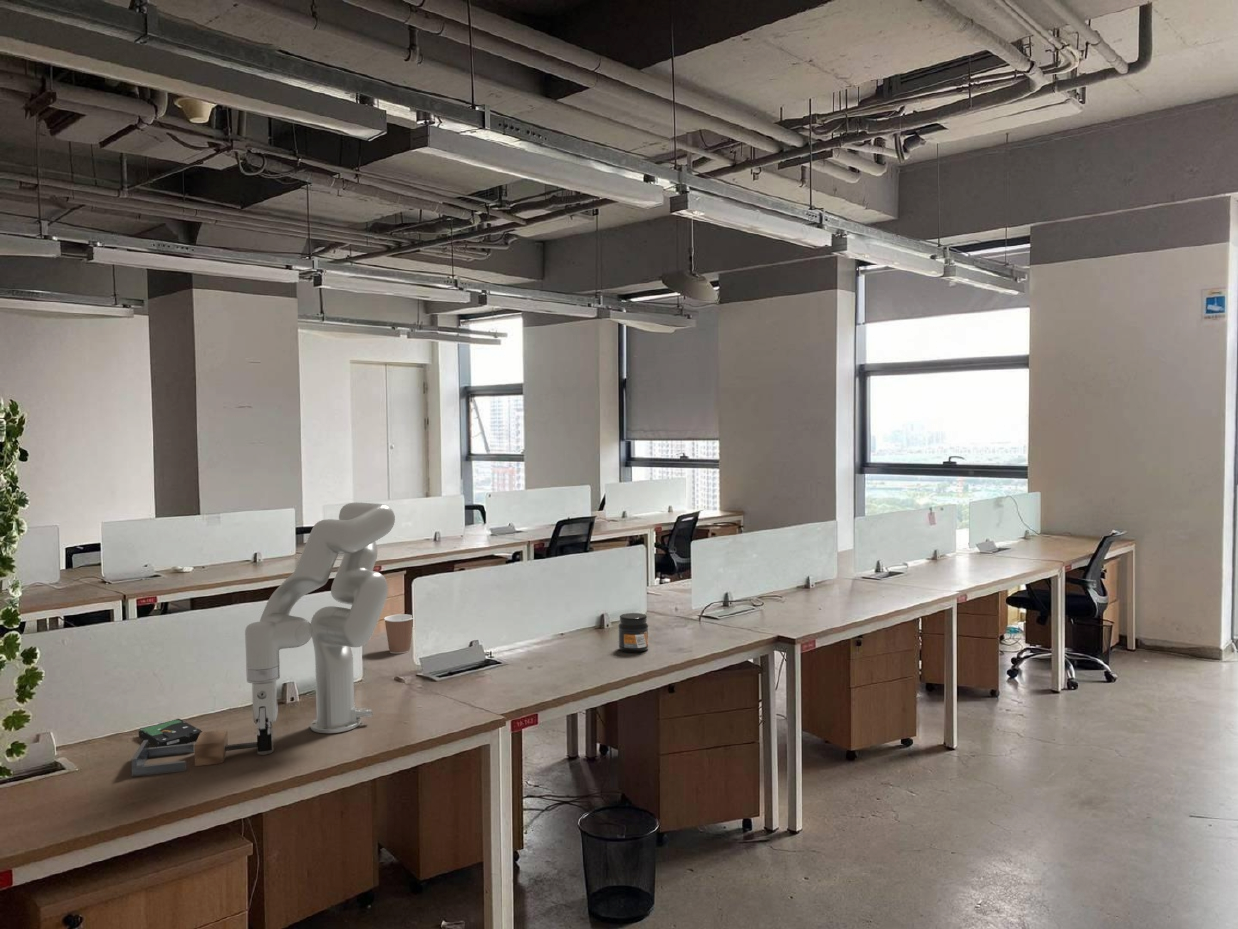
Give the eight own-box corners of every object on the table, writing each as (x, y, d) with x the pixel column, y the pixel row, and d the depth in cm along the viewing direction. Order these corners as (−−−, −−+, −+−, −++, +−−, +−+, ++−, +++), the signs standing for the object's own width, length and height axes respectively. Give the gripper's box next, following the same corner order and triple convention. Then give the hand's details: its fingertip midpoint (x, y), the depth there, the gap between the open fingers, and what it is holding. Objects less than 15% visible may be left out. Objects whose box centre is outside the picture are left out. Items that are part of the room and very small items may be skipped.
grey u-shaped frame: (194, 751, 215) (193, 735, 215) (185, 770, 203) (184, 753, 203) (144, 756, 212) (143, 740, 212) (132, 777, 200) (131, 759, 200)
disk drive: (203, 741, 224) (179, 728, 234) (203, 730, 224) (178, 717, 234) (161, 753, 216) (137, 738, 226) (161, 742, 216) (137, 728, 226)
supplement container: (645, 654, 302) (644, 619, 301) (615, 652, 304) (614, 618, 304) (651, 646, 312) (650, 613, 311) (622, 645, 314) (621, 612, 314)
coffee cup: (406, 646, 317) (406, 613, 316) (420, 651, 309) (419, 617, 308) (379, 651, 310) (379, 617, 310) (392, 656, 302) (391, 622, 302)
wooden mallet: (275, 744, 219) (274, 721, 219) (271, 757, 211) (271, 733, 210) (201, 752, 214) (200, 728, 214) (194, 766, 206) (194, 741, 205)
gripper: (277, 681, 207) (279, 758, 208) (282, 663, 222) (284, 734, 223) (242, 684, 204) (245, 762, 205) (250, 666, 220) (252, 738, 221)
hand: (265, 747), depth 214 cm, fingers closed on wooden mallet, 3 cm apart
